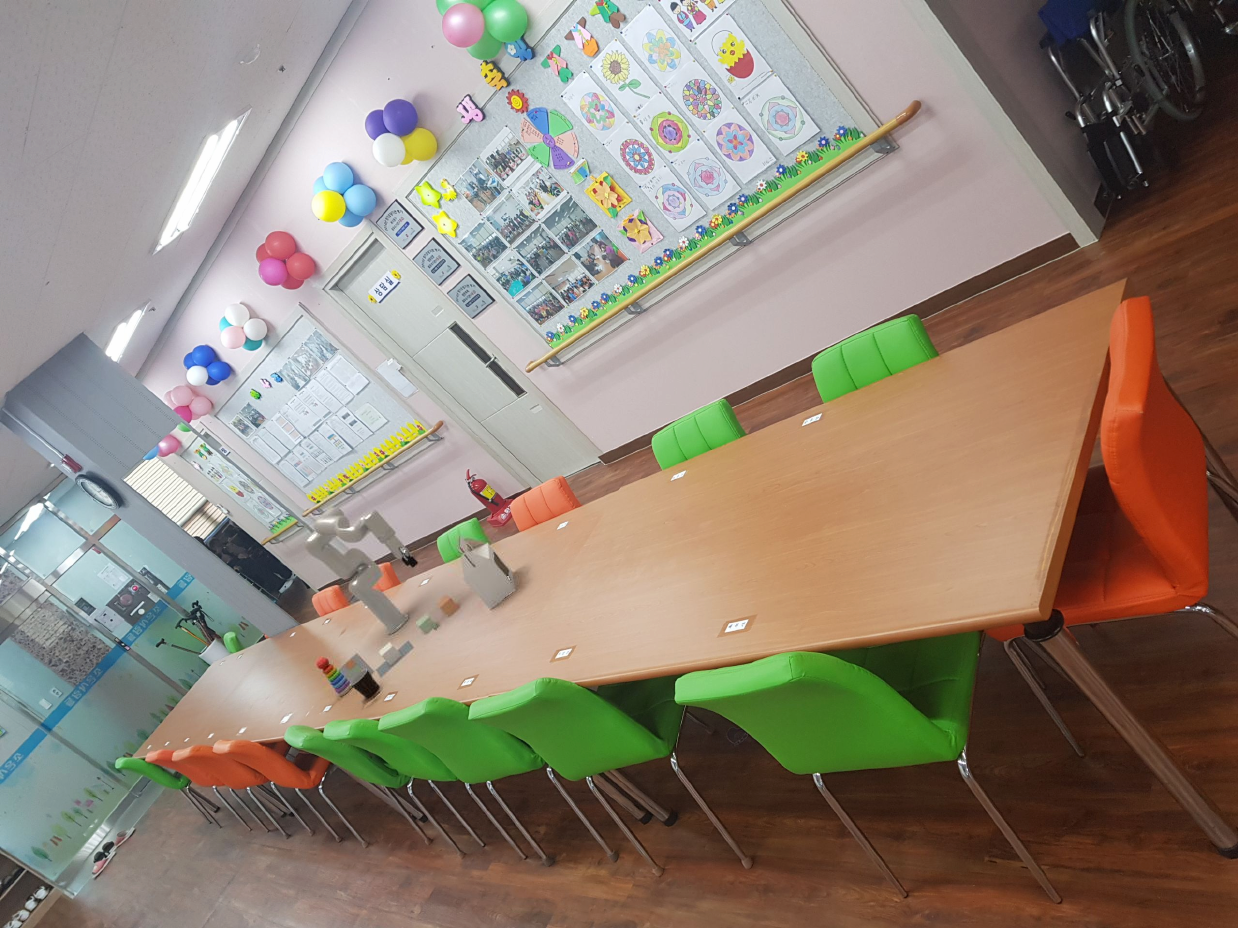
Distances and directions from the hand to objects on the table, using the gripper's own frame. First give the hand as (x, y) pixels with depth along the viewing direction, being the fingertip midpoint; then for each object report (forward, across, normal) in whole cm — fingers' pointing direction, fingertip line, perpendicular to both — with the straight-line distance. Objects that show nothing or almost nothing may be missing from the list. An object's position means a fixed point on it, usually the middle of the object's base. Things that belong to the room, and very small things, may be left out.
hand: (412, 564), depth 359 cm
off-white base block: (+25, +2, -32) cm, 41 cm away
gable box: (+27, +33, +16) cm, 46 cm away
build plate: (+26, +2, -32) cm, 41 cm away
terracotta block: (+26, +4, -1) cm, 27 cm away
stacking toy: (+26, -18, -55) cm, 63 cm away
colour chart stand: (+26, -8, -46) cm, 54 cm away
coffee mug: (+26, +16, -48) cm, 57 cm away
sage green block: (+26, +3, -13) cm, 30 cm away
